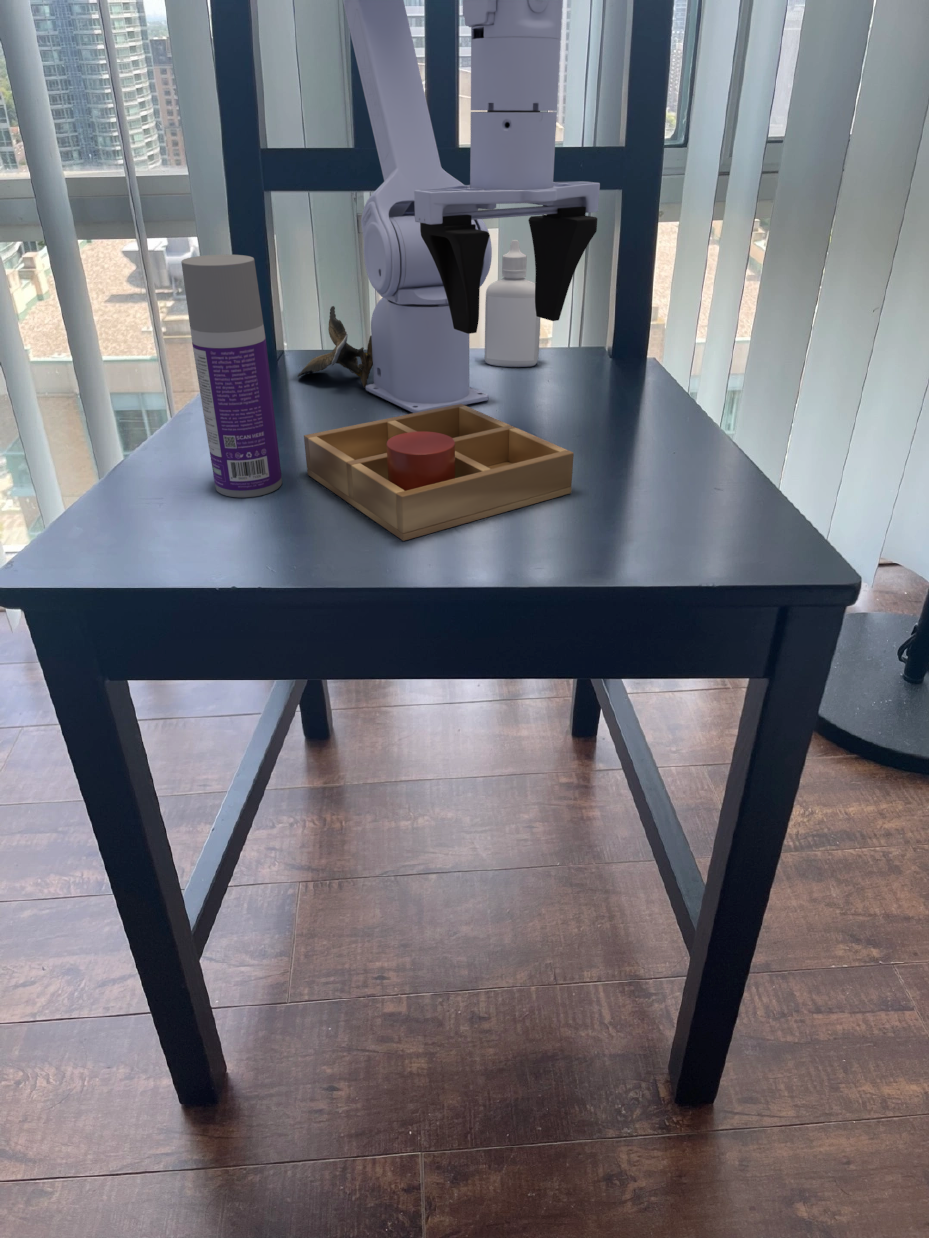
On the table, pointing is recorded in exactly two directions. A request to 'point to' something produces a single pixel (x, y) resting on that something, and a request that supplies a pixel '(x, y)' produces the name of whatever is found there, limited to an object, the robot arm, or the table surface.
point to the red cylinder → (420, 459)
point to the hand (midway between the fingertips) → (507, 324)
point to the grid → (483, 485)
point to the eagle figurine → (342, 353)
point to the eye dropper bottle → (512, 315)
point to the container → (233, 373)
